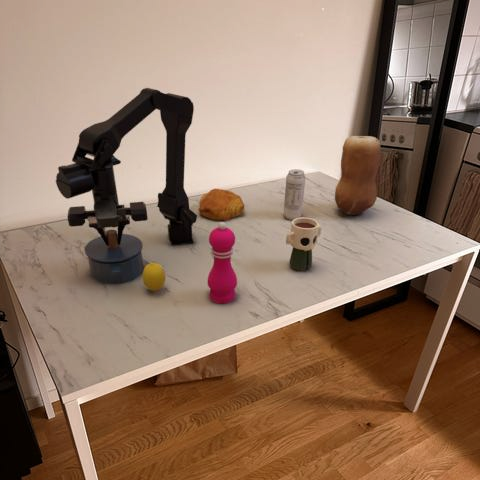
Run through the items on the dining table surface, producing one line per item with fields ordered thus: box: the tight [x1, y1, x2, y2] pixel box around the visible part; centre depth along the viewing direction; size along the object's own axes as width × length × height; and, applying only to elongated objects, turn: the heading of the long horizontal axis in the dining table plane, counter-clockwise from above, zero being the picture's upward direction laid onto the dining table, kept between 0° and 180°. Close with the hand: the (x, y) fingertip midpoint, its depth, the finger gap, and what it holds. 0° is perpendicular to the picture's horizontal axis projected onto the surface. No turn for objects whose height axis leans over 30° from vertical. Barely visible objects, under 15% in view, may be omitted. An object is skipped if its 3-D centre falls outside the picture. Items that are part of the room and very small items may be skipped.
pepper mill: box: [206, 221, 238, 304], centre depth 108 cm, size 7×7×20 cm
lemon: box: [141, 262, 166, 292], centre depth 113 cm, size 6×6×8 cm
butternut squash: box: [334, 135, 382, 216], centre depth 147 cm, size 14×13×25 cm
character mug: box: [285, 216, 322, 271], centre depth 122 cm, size 11×7×13 cm, turn 118°
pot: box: [87, 250, 145, 285], centre depth 121 cm, size 14×19×6 cm
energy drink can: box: [282, 168, 307, 221], centre depth 147 cm, size 6×6×15 cm
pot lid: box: [84, 229, 144, 262], centre depth 117 cm, size 15×15×5 cm
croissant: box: [198, 188, 245, 221], centre depth 151 cm, size 14×16×8 cm
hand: (113, 244), depth 118 cm, fingers closed on pot lid, 3 cm apart
